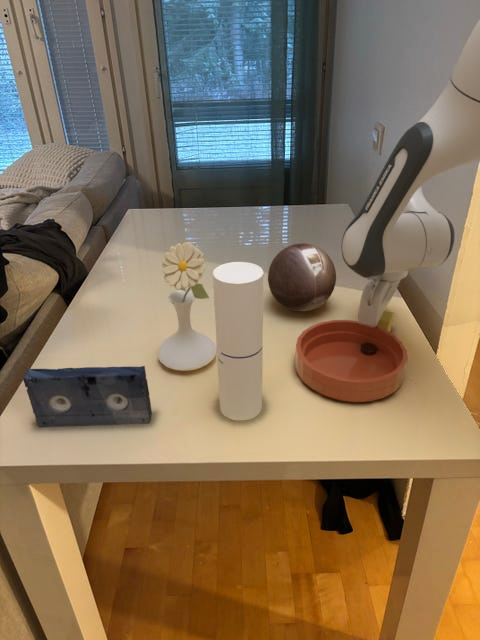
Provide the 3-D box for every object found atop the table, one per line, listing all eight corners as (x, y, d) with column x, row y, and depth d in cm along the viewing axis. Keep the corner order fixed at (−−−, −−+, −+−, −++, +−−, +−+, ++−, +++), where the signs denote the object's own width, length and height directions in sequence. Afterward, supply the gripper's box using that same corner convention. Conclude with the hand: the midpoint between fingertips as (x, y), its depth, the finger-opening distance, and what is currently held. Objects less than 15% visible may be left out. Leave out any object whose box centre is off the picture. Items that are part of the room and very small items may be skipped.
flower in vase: (147, 357, 91) (129, 237, 78) (193, 335, 98) (184, 221, 85) (186, 389, 83) (173, 260, 70) (234, 363, 89) (230, 240, 76)
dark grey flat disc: (379, 350, 91) (379, 346, 90) (371, 357, 89) (372, 353, 88) (365, 345, 92) (365, 340, 92) (357, 351, 90) (358, 347, 90)
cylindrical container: (245, 427, 75) (243, 288, 62) (211, 409, 78) (202, 274, 65) (270, 402, 79) (273, 269, 66) (237, 387, 83) (233, 257, 70)
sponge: (391, 329, 99) (393, 312, 97) (386, 338, 96) (389, 321, 94) (363, 322, 101) (365, 306, 99) (357, 331, 98) (359, 314, 96)
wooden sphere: (302, 331, 98) (306, 266, 91) (254, 306, 108) (254, 245, 100) (346, 307, 107) (353, 246, 99) (298, 286, 116) (301, 228, 109)
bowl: (412, 356, 90) (417, 334, 88) (388, 419, 76) (393, 395, 73) (317, 331, 98) (318, 311, 96) (278, 384, 84) (279, 361, 81)
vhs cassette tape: (153, 412, 78) (145, 365, 73) (150, 425, 75) (142, 376, 70) (43, 414, 78) (28, 366, 73) (37, 427, 75) (21, 378, 70)
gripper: (389, 288, 81) (378, 353, 89) (412, 248, 97) (401, 305, 104) (353, 281, 84) (345, 344, 91) (382, 243, 99) (373, 299, 106)
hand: (375, 323), depth 98 cm, fingers closed on sponge, 4 cm apart
